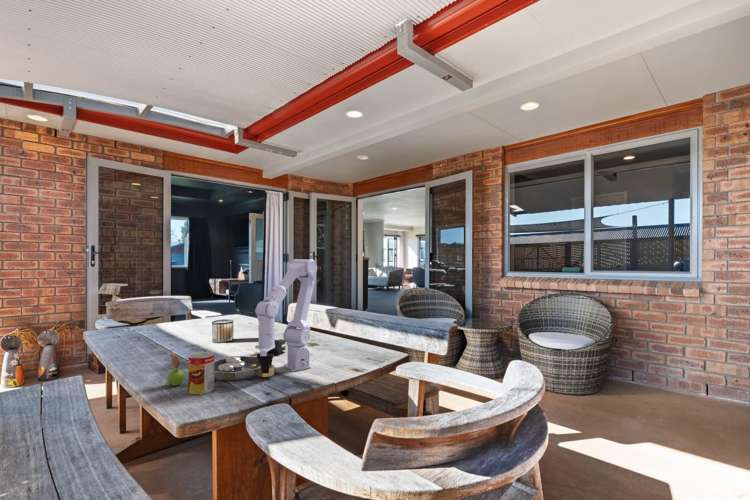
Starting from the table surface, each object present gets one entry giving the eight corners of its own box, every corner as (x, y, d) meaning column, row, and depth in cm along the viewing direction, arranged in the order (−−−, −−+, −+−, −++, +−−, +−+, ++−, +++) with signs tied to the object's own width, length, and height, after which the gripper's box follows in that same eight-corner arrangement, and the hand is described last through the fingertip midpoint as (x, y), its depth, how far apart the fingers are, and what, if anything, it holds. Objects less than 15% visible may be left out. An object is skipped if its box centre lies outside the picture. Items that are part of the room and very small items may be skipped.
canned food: (196, 385, 126) (196, 351, 126) (218, 386, 125) (218, 351, 125) (182, 394, 118) (183, 357, 118) (206, 395, 117) (206, 357, 118)
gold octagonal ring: (277, 374, 135) (277, 365, 135) (264, 377, 130) (264, 369, 131) (268, 371, 138) (268, 363, 138) (255, 375, 134) (255, 366, 134)
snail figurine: (179, 380, 131) (179, 347, 131) (187, 384, 127) (187, 350, 127) (163, 385, 126) (163, 350, 127) (170, 389, 122) (171, 353, 123)
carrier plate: (275, 373, 140) (276, 361, 140) (215, 385, 126) (215, 372, 126) (255, 360, 157) (255, 350, 157) (200, 369, 143) (200, 358, 144)
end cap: (258, 354, 166) (258, 339, 166) (268, 351, 173) (268, 336, 173) (277, 356, 163) (277, 341, 163) (286, 353, 169) (286, 338, 169)
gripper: (259, 330, 141) (258, 365, 141) (251, 338, 127) (251, 377, 127) (277, 329, 142) (277, 364, 142) (272, 337, 128) (272, 376, 128)
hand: (266, 370), depth 134 cm, fingers closed on gold octagonal ring, 5 cm apart
